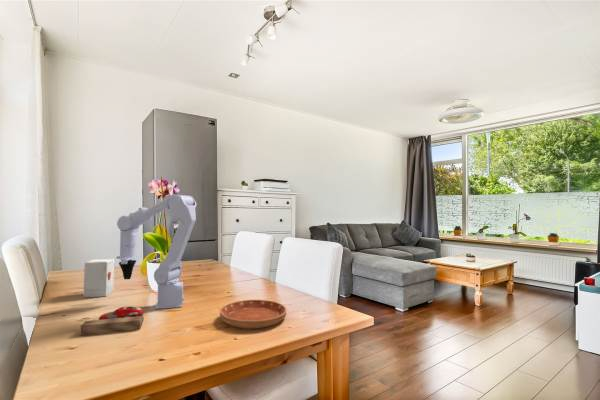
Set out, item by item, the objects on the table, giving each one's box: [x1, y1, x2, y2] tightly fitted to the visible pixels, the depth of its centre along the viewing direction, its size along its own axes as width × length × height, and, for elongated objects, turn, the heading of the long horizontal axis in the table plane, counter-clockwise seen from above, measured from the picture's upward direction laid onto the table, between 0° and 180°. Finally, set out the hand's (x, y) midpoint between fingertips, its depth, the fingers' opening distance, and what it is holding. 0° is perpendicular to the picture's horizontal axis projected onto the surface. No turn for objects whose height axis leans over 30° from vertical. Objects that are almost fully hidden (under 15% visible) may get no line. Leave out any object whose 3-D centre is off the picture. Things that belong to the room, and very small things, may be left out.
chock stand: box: [79, 315, 145, 337], centre depth 99 cm, size 16×8×3 cm, turn 108°
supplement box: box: [82, 258, 115, 298], centre depth 136 cm, size 9×9×15 cm
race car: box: [98, 306, 144, 320], centre depth 106 cm, size 13×5×4 cm, turn 116°
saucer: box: [219, 299, 287, 330], centre depth 108 cm, size 23×23×4 cm
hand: (127, 278), depth 125 cm, fingers closed
